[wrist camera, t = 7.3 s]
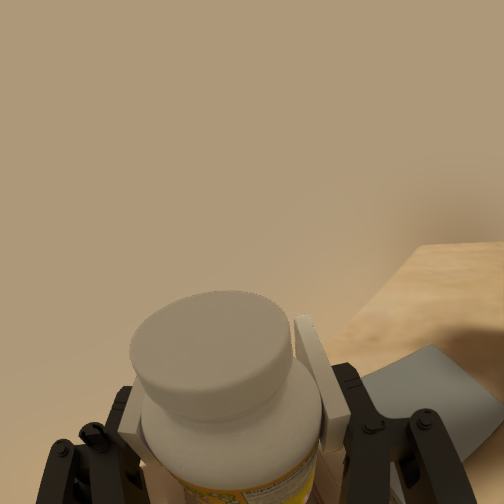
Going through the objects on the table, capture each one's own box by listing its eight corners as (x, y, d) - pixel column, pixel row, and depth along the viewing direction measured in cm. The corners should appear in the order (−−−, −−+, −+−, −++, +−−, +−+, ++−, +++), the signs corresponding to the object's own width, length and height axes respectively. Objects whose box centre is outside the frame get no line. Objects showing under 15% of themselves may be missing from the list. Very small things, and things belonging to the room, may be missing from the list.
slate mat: (429, 348, 29) (431, 343, 29) (506, 417, 14) (510, 411, 14) (327, 396, 26) (327, 390, 26) (399, 508, 12) (403, 504, 11)
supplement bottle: (186, 471, 13) (93, 313, 9) (272, 431, 16) (246, 262, 12) (237, 547, 8) (116, 465, 3) (335, 492, 11) (379, 329, 6)
